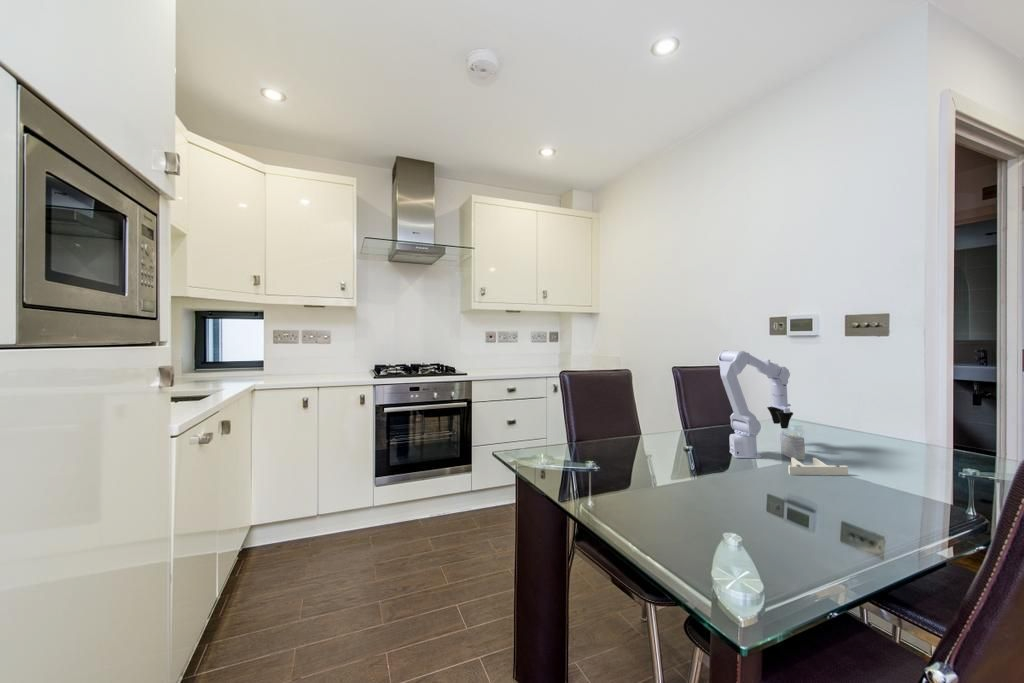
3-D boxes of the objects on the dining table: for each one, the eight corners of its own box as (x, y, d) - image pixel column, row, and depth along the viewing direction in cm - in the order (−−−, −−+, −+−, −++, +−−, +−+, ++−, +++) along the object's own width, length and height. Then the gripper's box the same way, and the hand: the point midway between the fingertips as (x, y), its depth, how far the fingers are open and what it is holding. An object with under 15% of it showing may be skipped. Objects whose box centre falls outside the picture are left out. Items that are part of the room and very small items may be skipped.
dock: (790, 474, 141) (789, 465, 141) (776, 464, 151) (776, 455, 151) (848, 475, 137) (848, 466, 137) (830, 464, 148) (830, 455, 147)
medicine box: (805, 459, 154) (804, 437, 153) (794, 460, 154) (793, 438, 153) (791, 453, 161) (790, 432, 161) (780, 453, 162) (779, 433, 161)
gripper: (797, 397, 160) (799, 430, 160) (782, 390, 174) (783, 421, 174) (778, 397, 161) (779, 430, 162) (764, 391, 175) (765, 421, 176)
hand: (780, 425), depth 168 cm, fingers open, 7 cm apart
